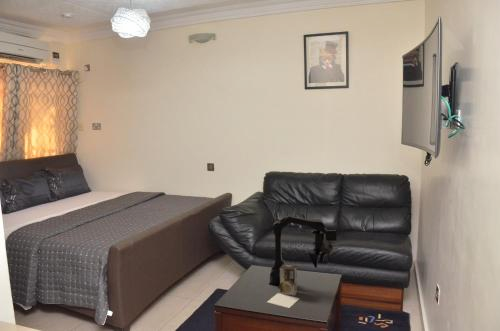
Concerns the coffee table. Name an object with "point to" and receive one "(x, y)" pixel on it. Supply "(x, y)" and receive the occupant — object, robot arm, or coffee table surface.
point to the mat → (283, 300)
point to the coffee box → (288, 280)
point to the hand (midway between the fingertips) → (318, 265)
